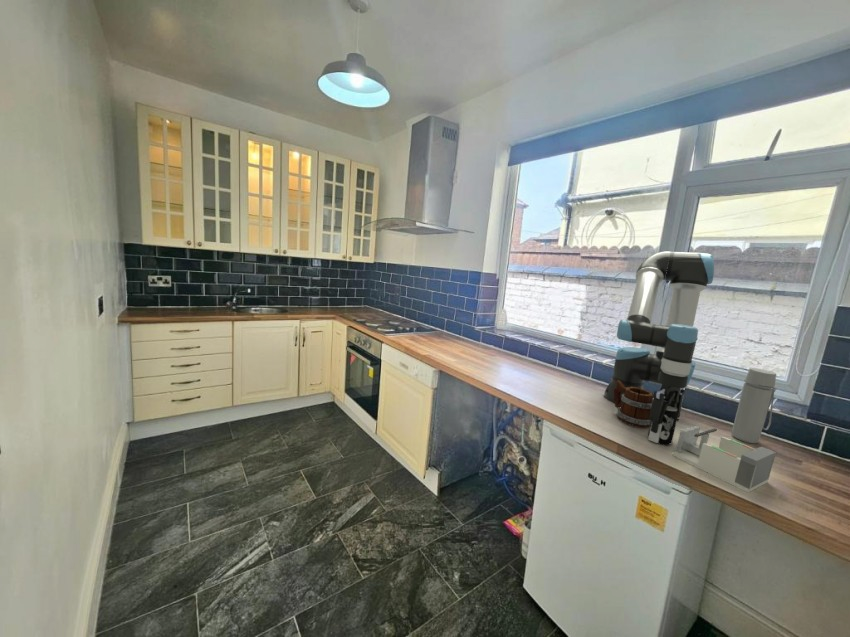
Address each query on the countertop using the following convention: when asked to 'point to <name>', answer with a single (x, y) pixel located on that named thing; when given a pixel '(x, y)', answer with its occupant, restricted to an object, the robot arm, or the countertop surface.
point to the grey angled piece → (692, 439)
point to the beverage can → (667, 425)
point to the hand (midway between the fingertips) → (659, 439)
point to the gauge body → (733, 463)
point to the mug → (633, 405)
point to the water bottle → (754, 405)
